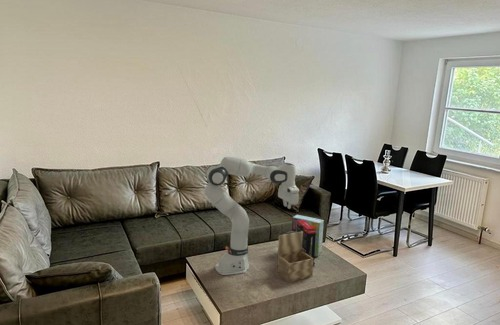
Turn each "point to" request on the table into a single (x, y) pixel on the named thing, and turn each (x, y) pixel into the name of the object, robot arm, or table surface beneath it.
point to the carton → (295, 265)
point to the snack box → (316, 224)
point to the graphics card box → (307, 237)
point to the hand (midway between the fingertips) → (287, 207)
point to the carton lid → (290, 242)
